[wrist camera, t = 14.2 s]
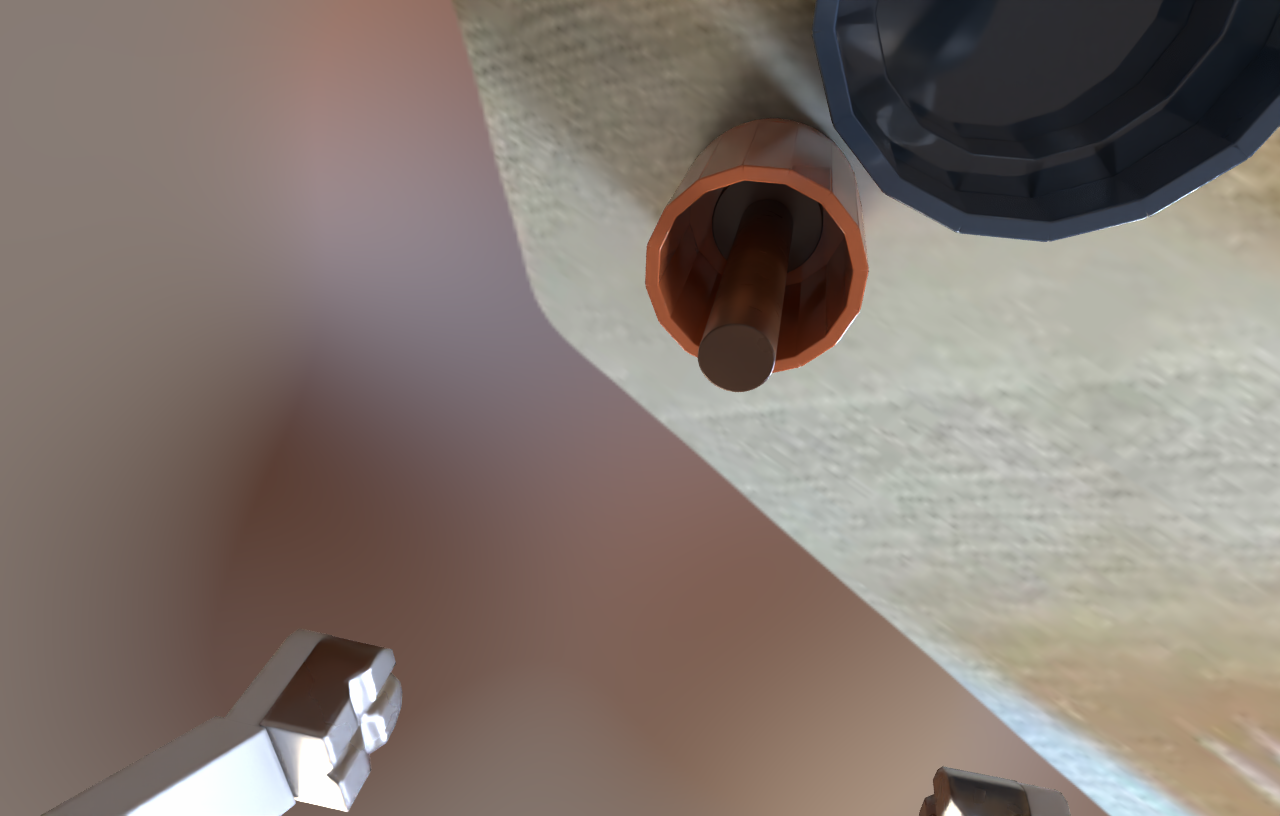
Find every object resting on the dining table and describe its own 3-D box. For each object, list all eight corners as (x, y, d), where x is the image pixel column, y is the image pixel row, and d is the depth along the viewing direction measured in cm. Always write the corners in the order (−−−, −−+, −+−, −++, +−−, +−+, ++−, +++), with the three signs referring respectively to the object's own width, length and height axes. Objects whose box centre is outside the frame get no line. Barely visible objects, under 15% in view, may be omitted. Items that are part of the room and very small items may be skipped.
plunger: (719, 158, 31) (660, 274, 20) (831, 168, 30) (832, 293, 19) (710, 263, 33) (653, 415, 23) (814, 274, 33) (805, 438, 22)
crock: (688, 110, 31) (650, 156, 24) (876, 125, 30) (888, 178, 23) (677, 280, 35) (641, 359, 28) (841, 300, 34) (844, 387, 27)
